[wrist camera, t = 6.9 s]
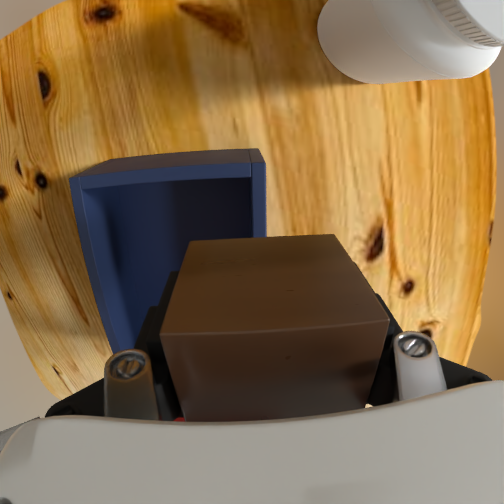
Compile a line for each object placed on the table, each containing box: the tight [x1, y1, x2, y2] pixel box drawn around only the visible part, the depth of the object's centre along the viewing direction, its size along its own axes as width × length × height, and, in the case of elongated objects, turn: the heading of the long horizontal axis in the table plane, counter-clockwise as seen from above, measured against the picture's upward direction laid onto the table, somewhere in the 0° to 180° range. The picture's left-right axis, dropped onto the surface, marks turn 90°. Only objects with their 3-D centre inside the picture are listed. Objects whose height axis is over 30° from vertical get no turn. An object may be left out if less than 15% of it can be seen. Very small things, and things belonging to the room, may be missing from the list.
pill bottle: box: [317, 0, 504, 84], centre depth 12 cm, size 8×8×15 cm
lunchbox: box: [69, 149, 267, 354], centre depth 23 cm, size 16×12×7 cm
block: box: [159, 234, 390, 422], centre depth 10 cm, size 5×5×5 cm
